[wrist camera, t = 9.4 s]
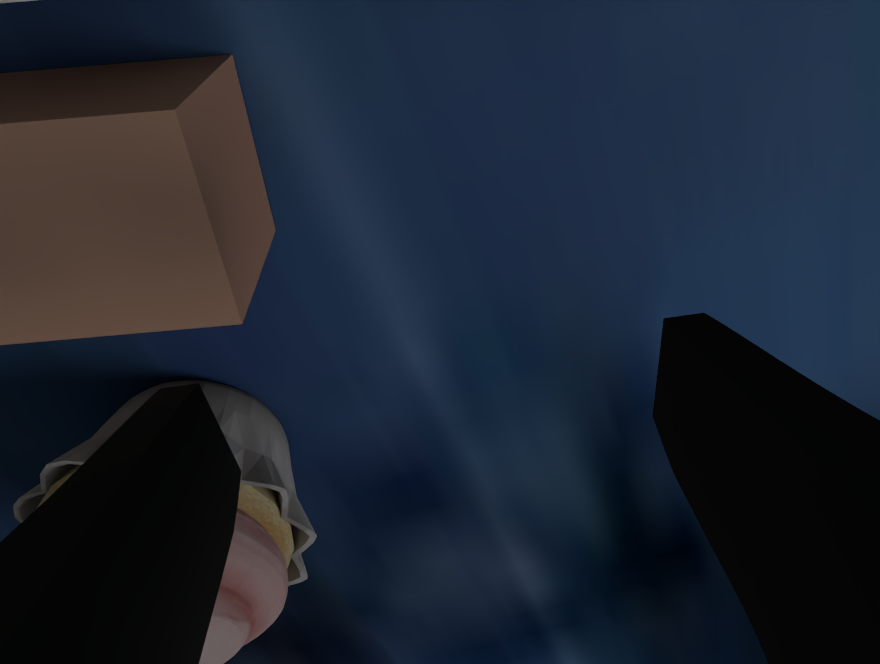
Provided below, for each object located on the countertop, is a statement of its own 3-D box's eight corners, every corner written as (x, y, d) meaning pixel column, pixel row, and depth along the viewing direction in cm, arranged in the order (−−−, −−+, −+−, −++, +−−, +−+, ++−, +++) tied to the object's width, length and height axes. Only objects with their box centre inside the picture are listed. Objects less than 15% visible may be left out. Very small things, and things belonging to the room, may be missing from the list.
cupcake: (280, 535, 27) (232, 806, 19) (57, 476, 24) (-114, 768, 16) (370, 397, 23) (356, 674, 15) (109, 301, 20) (-92, 586, 11)
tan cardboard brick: (232, 54, 15) (174, 109, 11) (275, 230, 18) (241, 324, 14) (-121, 82, 15) (-305, 149, 11) (-21, 255, 18) (-138, 356, 14)
